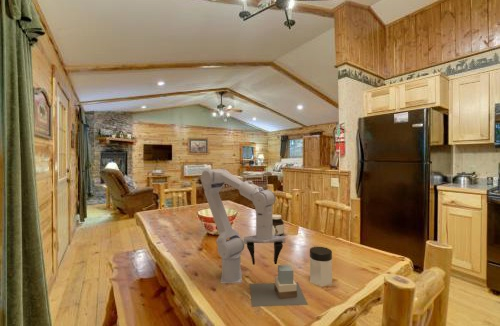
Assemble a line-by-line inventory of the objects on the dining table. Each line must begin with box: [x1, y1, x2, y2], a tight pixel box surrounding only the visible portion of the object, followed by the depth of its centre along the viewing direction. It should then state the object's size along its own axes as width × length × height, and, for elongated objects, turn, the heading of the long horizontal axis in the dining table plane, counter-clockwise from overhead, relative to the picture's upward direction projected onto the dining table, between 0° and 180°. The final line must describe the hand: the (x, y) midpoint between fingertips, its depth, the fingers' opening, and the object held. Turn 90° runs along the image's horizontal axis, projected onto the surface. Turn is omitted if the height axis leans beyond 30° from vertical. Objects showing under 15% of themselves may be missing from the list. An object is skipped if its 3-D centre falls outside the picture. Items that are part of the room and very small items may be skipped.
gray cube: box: [277, 264, 294, 284], centre depth 85 cm, size 4×4×4 cm
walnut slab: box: [274, 284, 297, 299], centre depth 86 cm, size 6×6×2 cm
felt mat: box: [249, 281, 309, 308], centre depth 85 cm, size 14×18×1 cm
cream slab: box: [274, 276, 297, 292], centre depth 86 cm, size 6×6×2 cm
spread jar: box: [272, 214, 285, 236], centre depth 150 cm, size 12×11×12 cm
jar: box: [309, 246, 333, 288], centre depth 94 cm, size 9×8×12 cm
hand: (264, 263), depth 87 cm, fingers open, 7 cm apart
